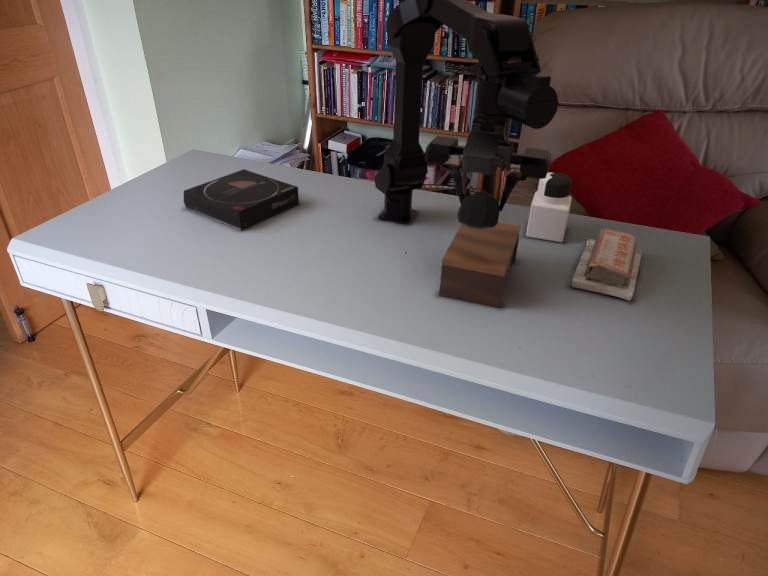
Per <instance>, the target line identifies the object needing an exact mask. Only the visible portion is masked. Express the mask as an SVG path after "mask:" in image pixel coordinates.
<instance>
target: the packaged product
mask: <svg viewBox="0 0 768 576" xmlns="http://www.w3.org/2000/svg"><path fill="white" fill-rule="evenodd" d="M637 239H638V238H637V237H636V236H634V235H633V234H631V233H629V232H624V231H620V230H616V229H609V228H601V230H600V231H599V234H598V236H597V239H596V240H595V239H594V238H588V239H587V240H586V244H585V247H584V249H583V251H582V253H581V256H580V259H579V261H578V264H577V267H576V269H575V270H574V271H575V272H574V274H573V276H572V279H571V288H576V289H580V290H586V291H590V292H594V293H599V294H603V295H608V296H613V297H615V298H620V299H623V300H626V301H628V302H631V300H632V298H633V296H634V292H635V288H636V284H637V278H638V273H639V268H640V264H641V260H642V256H643V255H642V254H643V251H642V250H638V249H637Z"/></svg>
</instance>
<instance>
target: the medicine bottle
mask: <svg viewBox="0 0 768 576" xmlns="http://www.w3.org/2000/svg"><path fill="white" fill-rule="evenodd" d="M572 184H573V180H572V178H571V177H570V176H568V175H566V174H564V173H561V172H554V171H551V172H547V175H546V178H543V179H539V181H538V186H537V190H536V191H535V192H534V195H533V198H532V201H531V204H530V209H529V216H528V221H527V227H526V233H525V236H526V238H531V239H536V240H537V239H538V240H543V241H549V242H556V243H563V242H564V239H565V234H566V230H567V224H568V220H569V216H570V211H571V205H572V200H573V197H572V196H571V195H570V194H571V189H572V186H573V185H572Z"/></svg>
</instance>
